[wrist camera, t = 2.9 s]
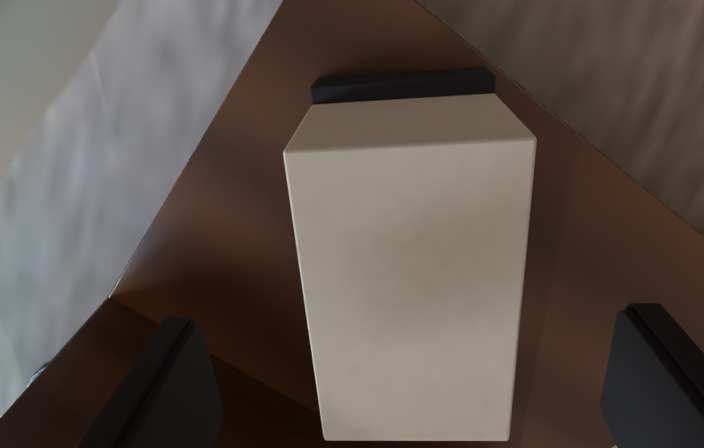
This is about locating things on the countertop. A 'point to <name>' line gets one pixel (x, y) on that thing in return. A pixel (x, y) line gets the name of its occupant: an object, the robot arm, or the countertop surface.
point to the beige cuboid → (412, 252)
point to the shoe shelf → (283, 267)
